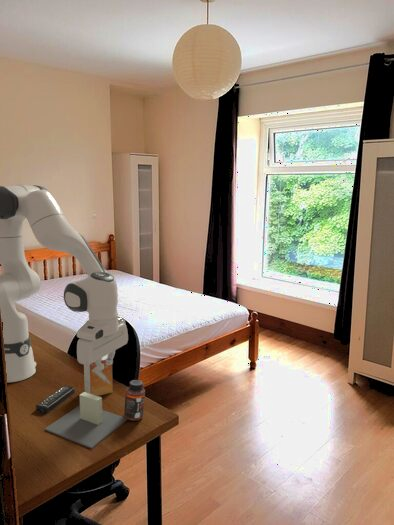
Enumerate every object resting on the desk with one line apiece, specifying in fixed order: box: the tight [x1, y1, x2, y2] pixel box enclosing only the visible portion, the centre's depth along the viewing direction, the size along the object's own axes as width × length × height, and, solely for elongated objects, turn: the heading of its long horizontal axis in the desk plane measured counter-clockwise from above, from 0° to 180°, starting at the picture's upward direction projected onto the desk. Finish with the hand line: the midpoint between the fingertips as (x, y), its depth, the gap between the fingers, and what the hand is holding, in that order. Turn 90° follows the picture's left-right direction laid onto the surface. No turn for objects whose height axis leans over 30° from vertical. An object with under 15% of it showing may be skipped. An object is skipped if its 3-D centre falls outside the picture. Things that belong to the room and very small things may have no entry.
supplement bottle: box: [123, 379, 146, 422], centre depth 128 cm, size 6×6×11 cm
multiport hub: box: [35, 384, 76, 415], centre depth 137 cm, size 4×14×2 cm, turn 159°
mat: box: [44, 404, 128, 450], centre depth 125 cm, size 18×16×1 cm
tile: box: [79, 391, 103, 425], centre depth 126 cm, size 7×2×8 cm, turn 63°
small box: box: [83, 354, 113, 397], centre depth 143 cm, size 8×6×13 cm
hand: (105, 366), depth 130 cm, fingers open, 3 cm apart
